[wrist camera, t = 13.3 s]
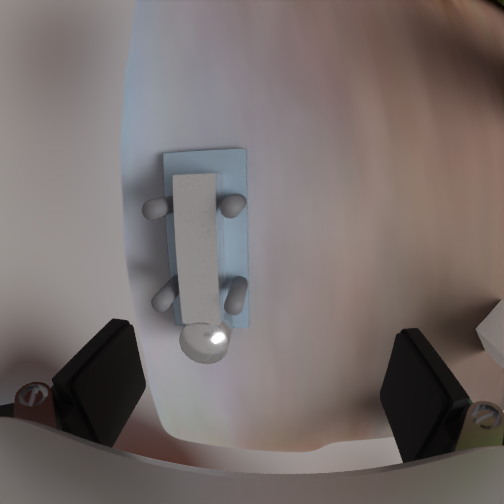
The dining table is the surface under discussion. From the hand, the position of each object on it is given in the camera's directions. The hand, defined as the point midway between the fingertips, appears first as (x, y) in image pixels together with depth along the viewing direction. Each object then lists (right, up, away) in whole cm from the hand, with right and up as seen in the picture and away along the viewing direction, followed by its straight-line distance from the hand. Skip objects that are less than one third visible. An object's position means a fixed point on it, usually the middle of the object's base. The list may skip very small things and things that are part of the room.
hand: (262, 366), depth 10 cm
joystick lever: (-5, +3, +20) cm, 20 cm away
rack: (-5, +5, +20) cm, 21 cm away
